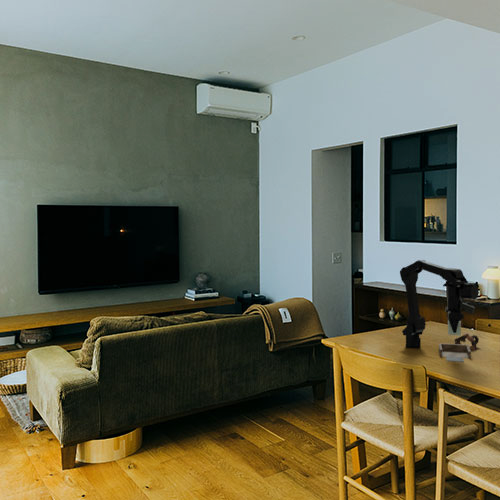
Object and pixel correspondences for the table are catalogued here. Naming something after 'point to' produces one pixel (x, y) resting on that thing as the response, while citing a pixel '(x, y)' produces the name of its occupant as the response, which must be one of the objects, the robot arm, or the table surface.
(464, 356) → the walnut crate
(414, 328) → the robot arm
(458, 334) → the sage block
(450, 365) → the table surface
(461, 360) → the slate tile
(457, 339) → the pottery mug
